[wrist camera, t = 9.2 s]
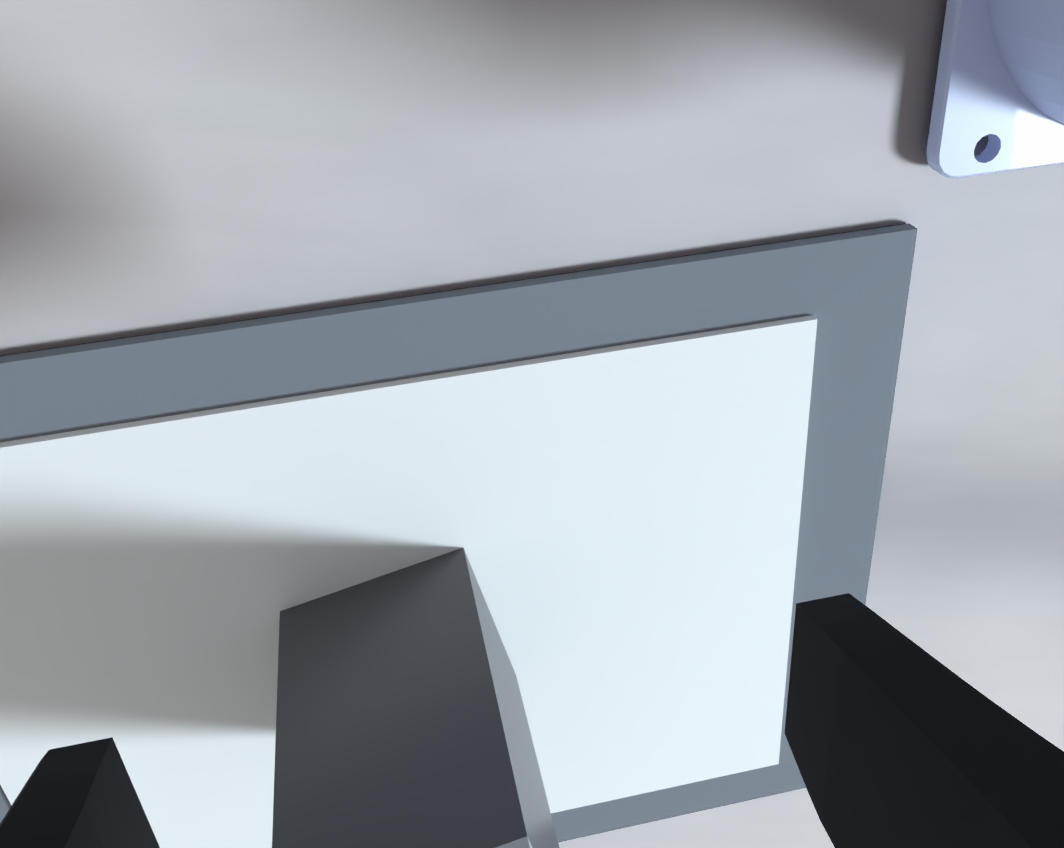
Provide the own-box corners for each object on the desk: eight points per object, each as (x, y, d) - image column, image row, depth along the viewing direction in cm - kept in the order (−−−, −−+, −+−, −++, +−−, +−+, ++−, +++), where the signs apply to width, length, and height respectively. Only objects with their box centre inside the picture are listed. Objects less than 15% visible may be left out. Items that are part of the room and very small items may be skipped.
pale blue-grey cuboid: (463, 547, 20) (555, 967, 13) (516, 675, 23) (622, 1099, 15) (280, 611, 20) (264, 1071, 13) (350, 734, 23) (372, 1190, 15)
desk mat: (909, 223, 19) (922, 232, 19) (836, 771, 28) (844, 785, 27) (-324, 403, 16) (-340, 418, 16) (11, 952, 25) (6, 971, 24)
